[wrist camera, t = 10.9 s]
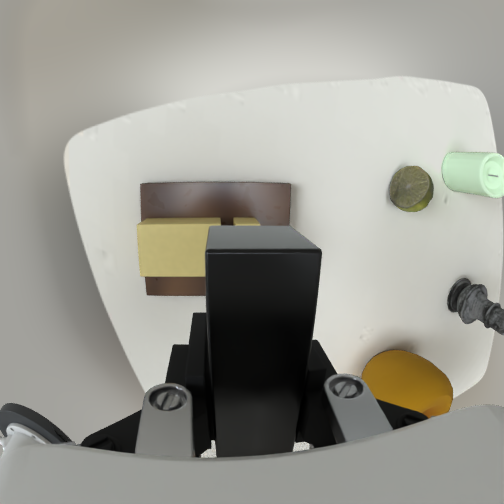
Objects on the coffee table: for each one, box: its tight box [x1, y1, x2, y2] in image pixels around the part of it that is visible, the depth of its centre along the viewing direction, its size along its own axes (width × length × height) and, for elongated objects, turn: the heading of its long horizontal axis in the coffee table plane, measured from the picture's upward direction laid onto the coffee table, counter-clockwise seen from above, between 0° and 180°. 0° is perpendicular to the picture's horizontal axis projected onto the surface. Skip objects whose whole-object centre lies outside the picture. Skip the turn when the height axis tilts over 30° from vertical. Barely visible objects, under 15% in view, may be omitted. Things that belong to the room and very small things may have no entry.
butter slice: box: [233, 217, 260, 226], centre depth 26 cm, size 2×4×4 cm, turn 178°
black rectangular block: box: [205, 226, 322, 458], centre depth 11 cm, size 2×10×8 cm, turn 179°
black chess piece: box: [447, 278, 504, 335], centre depth 29 cm, size 6×6×12 cm
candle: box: [442, 152, 504, 198], centre depth 26 cm, size 5×5×8 cm
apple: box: [361, 350, 453, 419], centre depth 30 cm, size 11×11×13 cm
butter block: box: [137, 218, 221, 277], centre depth 26 cm, size 7×4×4 cm, turn 89°
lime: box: [390, 166, 434, 212], centre depth 27 cm, size 4×5×5 cm
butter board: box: [140, 182, 291, 296], centre depth 28 cm, size 14×11×1 cm
